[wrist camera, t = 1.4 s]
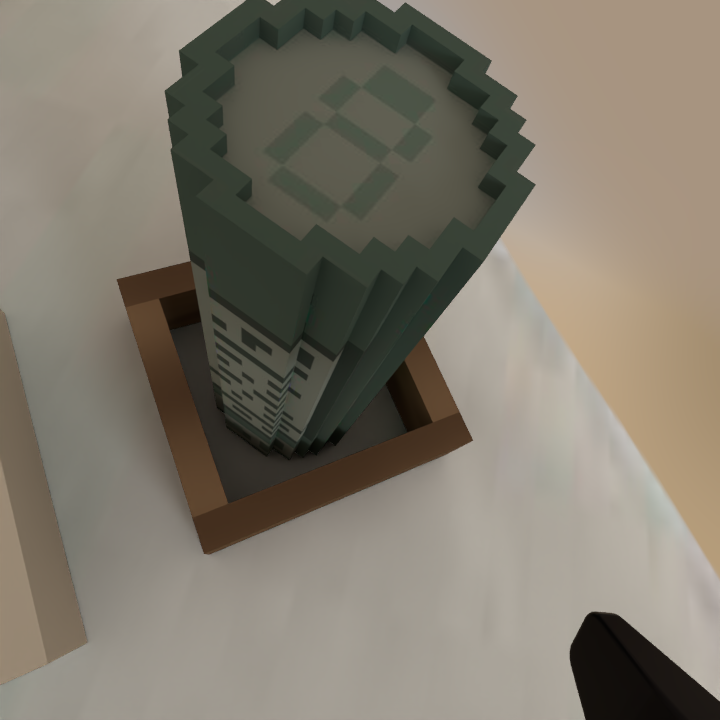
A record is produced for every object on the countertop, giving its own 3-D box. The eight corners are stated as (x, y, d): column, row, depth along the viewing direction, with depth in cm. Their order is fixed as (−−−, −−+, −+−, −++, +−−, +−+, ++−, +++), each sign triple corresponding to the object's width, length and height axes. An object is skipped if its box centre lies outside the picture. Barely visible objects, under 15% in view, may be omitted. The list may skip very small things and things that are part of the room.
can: (385, 373, 24) (579, 120, 10) (307, 486, 21) (420, 355, 8) (276, 296, 24) (319, -55, 10) (186, 398, 22) (86, 119, 8)
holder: (445, 454, 23) (473, 440, 20) (209, 554, 20) (204, 553, 17) (354, 254, 26) (367, 217, 23) (132, 313, 22) (116, 279, 20)
